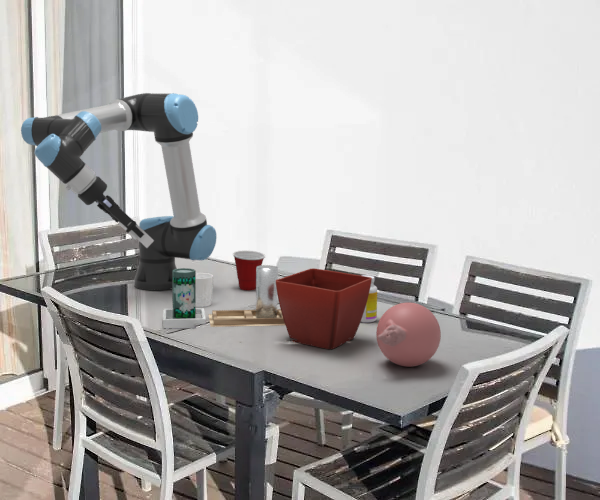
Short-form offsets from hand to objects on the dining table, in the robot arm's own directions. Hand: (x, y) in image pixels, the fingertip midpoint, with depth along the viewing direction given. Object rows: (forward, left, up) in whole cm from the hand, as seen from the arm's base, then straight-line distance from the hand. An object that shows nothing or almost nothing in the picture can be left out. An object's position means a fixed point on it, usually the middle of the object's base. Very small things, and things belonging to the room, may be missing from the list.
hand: (144, 240), depth 223 cm
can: (-3, +11, -24) cm, 27 cm away
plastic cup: (-43, +33, -24) cm, 59 cm away
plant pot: (+17, +47, -24) cm, 55 cm away
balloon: (+40, +62, -24) cm, 77 cm away
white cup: (-19, +16, -24) cm, 35 cm away
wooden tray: (-1, +29, -24) cm, 37 cm away
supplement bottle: (-2, +63, -24) cm, 67 cm away
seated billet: (-1, +34, -23) cm, 41 cm away
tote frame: (-3, +11, -24) cm, 27 cm away
